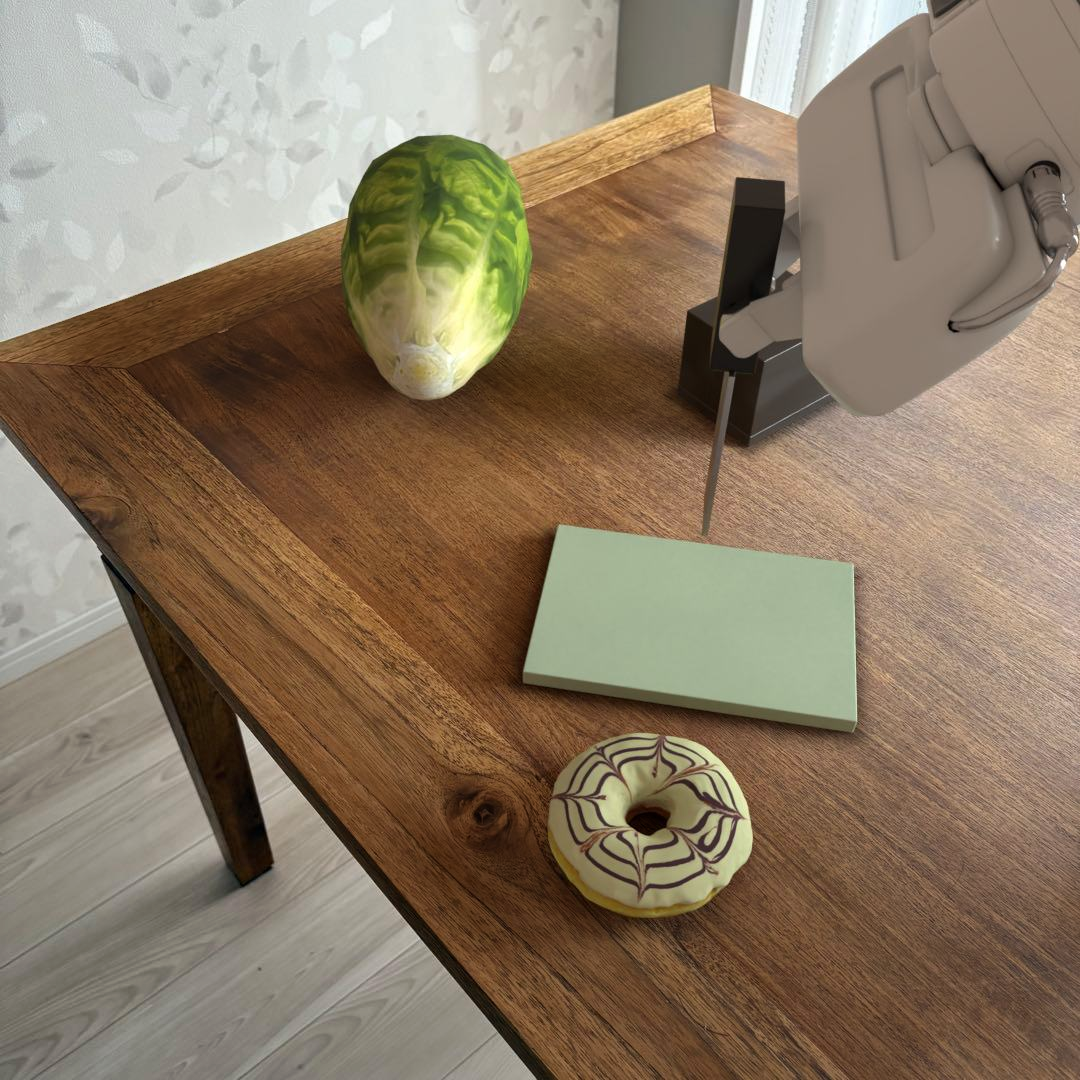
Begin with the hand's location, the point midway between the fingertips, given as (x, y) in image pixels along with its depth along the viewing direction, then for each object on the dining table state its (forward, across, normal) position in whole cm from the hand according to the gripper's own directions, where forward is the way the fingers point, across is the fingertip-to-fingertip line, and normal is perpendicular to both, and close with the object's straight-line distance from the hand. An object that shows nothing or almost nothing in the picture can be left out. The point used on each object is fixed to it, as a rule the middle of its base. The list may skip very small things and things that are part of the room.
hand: (729, 312), depth 48 cm
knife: (+8, 0, -9) cm, 12 cm away
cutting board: (+19, +5, -20) cm, 28 cm away
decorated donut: (+20, -10, -19) cm, 30 cm away
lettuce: (+35, +32, -5) cm, 47 cm away
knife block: (+16, +30, -23) cm, 41 cm away
